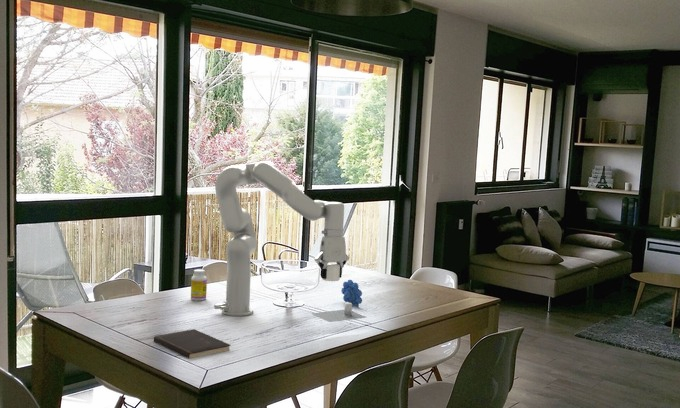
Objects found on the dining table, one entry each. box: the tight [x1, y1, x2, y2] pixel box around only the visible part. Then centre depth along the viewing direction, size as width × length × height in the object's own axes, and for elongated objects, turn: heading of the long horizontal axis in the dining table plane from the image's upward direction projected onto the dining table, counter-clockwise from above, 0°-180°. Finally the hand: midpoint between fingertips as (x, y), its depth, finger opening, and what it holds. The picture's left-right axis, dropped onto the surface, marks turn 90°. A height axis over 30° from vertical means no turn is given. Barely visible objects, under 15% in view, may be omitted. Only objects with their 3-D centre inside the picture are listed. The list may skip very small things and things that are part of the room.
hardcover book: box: [153, 328, 231, 359], centre depth 231 cm, size 16×23×2 cm
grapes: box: [341, 279, 363, 308], centre depth 294 cm, size 12×7×12 cm, turn 47°
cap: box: [321, 262, 341, 282], centre depth 271 cm, size 6×6×6 cm
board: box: [310, 302, 367, 323], centre depth 274 cm, size 18×14×6 cm
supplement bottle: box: [190, 268, 208, 302], centre depth 296 cm, size 7×7×13 cm
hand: (331, 277), depth 271 cm, fingers closed on cap, 6 cm apart
